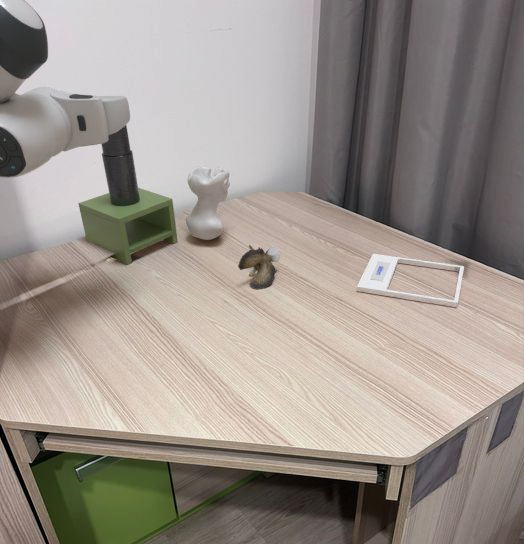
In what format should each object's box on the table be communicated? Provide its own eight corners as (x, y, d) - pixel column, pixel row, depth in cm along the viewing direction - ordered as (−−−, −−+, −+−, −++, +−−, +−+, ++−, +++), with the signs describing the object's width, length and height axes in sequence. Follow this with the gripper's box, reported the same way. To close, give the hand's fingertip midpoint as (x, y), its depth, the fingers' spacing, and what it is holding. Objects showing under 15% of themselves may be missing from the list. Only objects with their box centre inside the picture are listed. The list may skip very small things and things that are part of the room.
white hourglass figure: (180, 240, 121) (172, 173, 112) (212, 223, 128) (207, 159, 119) (212, 250, 116) (206, 181, 107) (244, 232, 123) (241, 167, 115)
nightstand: (88, 246, 119) (78, 203, 113) (138, 226, 128) (131, 185, 122) (127, 264, 112) (118, 219, 106) (177, 242, 120) (172, 198, 114)
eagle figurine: (238, 260, 109) (228, 274, 101) (257, 232, 106) (249, 243, 98) (269, 282, 110) (262, 296, 102) (288, 254, 107) (283, 267, 99)
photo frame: (373, 252, 111) (464, 265, 105) (372, 257, 112) (463, 270, 106) (357, 285, 100) (458, 301, 94) (356, 290, 101) (456, 307, 95)
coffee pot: (135, 206, 111) (121, 122, 101) (107, 206, 112) (90, 122, 102) (147, 190, 119) (135, 110, 109) (121, 190, 119) (107, 110, 110)
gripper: (-13, 142, 83) (28, 121, 94) (116, 143, 81) (141, 121, 92) (-27, 98, 79) (17, 81, 90) (108, 98, 77) (136, 80, 88)
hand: (81, 101), depth 91 cm, fingers open, 8 cm apart
